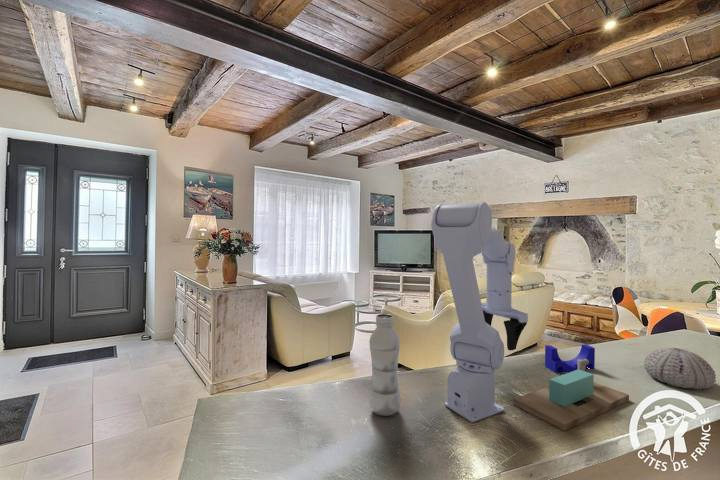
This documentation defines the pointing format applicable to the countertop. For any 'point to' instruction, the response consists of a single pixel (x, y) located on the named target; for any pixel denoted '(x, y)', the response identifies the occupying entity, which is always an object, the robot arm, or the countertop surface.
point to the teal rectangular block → (571, 387)
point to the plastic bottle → (384, 367)
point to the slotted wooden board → (571, 413)
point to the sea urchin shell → (680, 368)
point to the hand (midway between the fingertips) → (498, 344)
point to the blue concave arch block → (561, 366)
